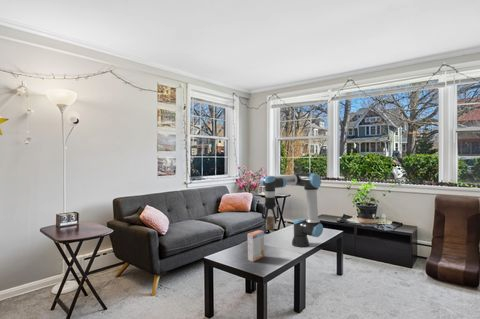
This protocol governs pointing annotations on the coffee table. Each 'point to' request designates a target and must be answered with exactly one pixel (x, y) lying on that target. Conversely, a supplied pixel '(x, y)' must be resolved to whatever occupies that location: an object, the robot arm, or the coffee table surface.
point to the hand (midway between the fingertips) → (270, 227)
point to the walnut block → (270, 222)
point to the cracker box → (255, 245)
